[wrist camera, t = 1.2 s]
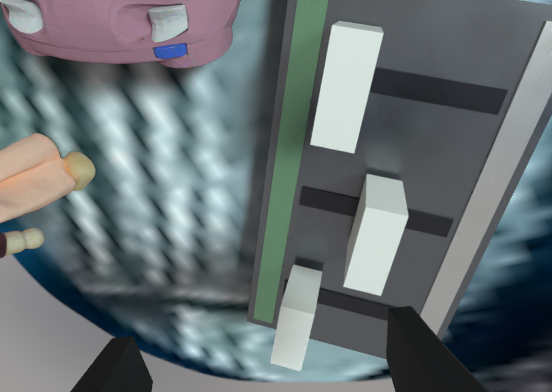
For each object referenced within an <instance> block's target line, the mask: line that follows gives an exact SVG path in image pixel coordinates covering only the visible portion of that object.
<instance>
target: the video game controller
mask: <svg viewBox="0 0 552 392" xmlns="http://www.w3.org/2000/svg"><path fill="white" fill-rule="evenodd" d="M240 1H241V0H0V2H1V6H2V10H3V14H4V17H5V19H6V21H7V24H8V26H9V28H10V29H11V31H12V32H13V34H14V35H15V37H16V39H17V40H18V42H19V43H20V45H21V46H22V48H23V49H24V50H25V51H26V52H28V53H30V54H33V55H37V56H54V57H58V58H62V59H67V60H74V61H81V62H89V63H112V64H128V63H145V62H155V61H157V62H159V63H160V64H162V65H165V66H168V67H172V68H191V67H197V66H202V65H204V64H207V63H210V62H212V61H214V60H216V59H218V58H219V57H221V56H222V55H223V54H224V53H225V52H226V51H227V50H228V49H229V47H230V46H231V43H232V39H233V34H232V24H233V22H234V20H235V18H236V15H237V12H238V8H239V5H240Z"/></svg>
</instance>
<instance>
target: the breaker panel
mask: <svg viewBox="0 0 552 392" xmlns="http://www.w3.org/2000/svg"><path fill="white" fill-rule="evenodd" d="M338 21H345V22H351V23H357V24H364V25H370V26H377V27H381V28H382V30H383V33H384V34H383V38H382V42H381V46H380V50H379V54H378V58H377V62H376V66H375V70H374V74H373V78H372V83H371V87H370V91H369V95H368V99H367V103H366V107H365V111H364V115H363V119H362V123H361V127H360V132H359V136H358V140H357V144H356V148H355V152H354V153H349V152H344V151H339V150H334V149H329V148H324V147H319V146H314V145H310V143H311V138H312V132H313V127H314V121H315V116H316V111H317V105H318V100H319V94H320V89H321V83H322V78H323V72H324V67H325V61H326V56H327V50H328V45H329V39H330V34H331V28H332V25H333V24H335V23H337V22H338ZM551 115H552V5H548V4H541V3H533V2H526V1H519V0H288V2H287V10H286V18H285V25H284V33H283V41H282V49H281V57H280V65H279V72H278V80H277V88H276V96H275V104H274V112H273V119H272V127H271V135H270V143H269V151H268V159H267V166H266V174H265V182H264V190H263V198H262V206H261V213H260V221H259V229H258V237H257V245H256V253H255V260H254V268H253V276H252V284H251V292H250V300H249V307H248V315H247V322H251V323H255V324H259V325H262V326H266V327H270V328H273V329H277V324H278V318H279V313H280V307H281V303H282V300H283V297H284V293H285V290H286V287H287V283H288V280H289V277H290V273H291V270H292V267H293V265H297V266H302V267H306V268H310V269H314V270H318V271H322V277H321V282H320V288H319V293H318V299H317V304H316V310H315V315H314V319H313V323H312V328H311V332H310V336H309V338H310V339H314V340H318V341H321V342H325V343H329V344H332V345H336V346H340V347H343V348H347V349H351V350H355V351H358V352H362V353H366V354H369V355H373V356H377V357H380V358H384V359H386V346H387V327H388V308H395V307H404V306H411V307H413V308H414V309H415V310H416V312H417V313H418V314H419V315H420V317H421V318H422V319H423V320H424V321H425V323H426V324H427V325H428V326H429V327H430V329H431V330H432V331H433V332H434V333H435V334H436V336H437V337H438V338H439V339H440V340H442V338H443V336H444V334H445V332H446V330H447V328H448V326H449V324H450V322H451V320H452V318H453V316H454V314H455V312H456V310H457V307H458V305H459V303H460V301H461V299H462V297H463V295H464V293H465V291H466V289H467V287H468V285H469V283H470V281H471V279H472V277H473V275H474V273H475V271H476V269H477V267H478V264H479V262H480V260H481V258H482V256H483V254H484V252H485V250H486V248H487V246H488V244H489V242H490V240H491V238H492V236H493V234H494V232H495V230H496V228H497V226H498V224H499V221H500V219H501V217H502V215H503V213H504V211H505V209H506V207H507V205H508V203H509V201H510V199H511V197H512V195H513V193H514V191H515V189H516V187H517V185H518V183H519V181H520V178H521V176H522V174H523V172H524V170H525V168H526V166H527V164H528V162H529V160H530V158H531V156H532V154H533V152H534V150H535V148H536V146H537V144H538V142H539V140H540V138H541V135H542V133H543V131H544V129H545V127H546V125H547V123H548V121H549V119H550V117H551ZM367 174H370V175H375V176H380V177H385V178H390V179H394V180H399V181H403V187H404V193H405V198H406V204H407V210H408V216H409V217H408V220H407V222H406V225H405V228H404V231H403V234H402V237H401V240H400V242H399V245H398V248H397V251H396V254H395V257H394V260H393V262H392V265H391V268H390V271H389V274H388V277H387V280H386V283H385V285H384V288H383V291H382V294H381V296H379V295H375V294H371V293H367V292H363V291H359V290H355V289H351V288H347V287H343V286H344V275H345V265H346V255H347V245H348V241H349V238H350V234H351V230H352V226H353V223H354V219H355V215H356V212H357V208H358V204H359V201H360V197H361V193H362V189H363V186H364V182H365V178H366V175H367Z"/></svg>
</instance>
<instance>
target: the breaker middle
mask: <svg viewBox="0 0 552 392" xmlns="http://www.w3.org/2000/svg"><path fill="white" fill-rule="evenodd" d="M408 217H409V216H408V210H407V204H406V198H405V193H404V187H403V181H399V180H394V179H390V178H385V177H380V176H375V175H370V174H367V175H366V178H365V182H364V186H363V189H362V193H361V197H360V201H359V204H358V208H357V212H356V215H355V219H354V223H353V226H352V230H351V234H350V238H349V241H348V245H347V255H346V265H345V275H344V286H343V287H347V288H351V289H355V290H359V291H363V292H367V293H371V294H375V295H379V296H381V294H382V291H383V288H384V285H385V283H386V280H387V277H388V274H389V271H390V268H391V265H392V262H393V260H394V257H395V254H396V251H397V248H398V245H399V242H400V240H401V237H402V234H403V231H404V228H405V225H406V222H407V220H408Z"/></svg>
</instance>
